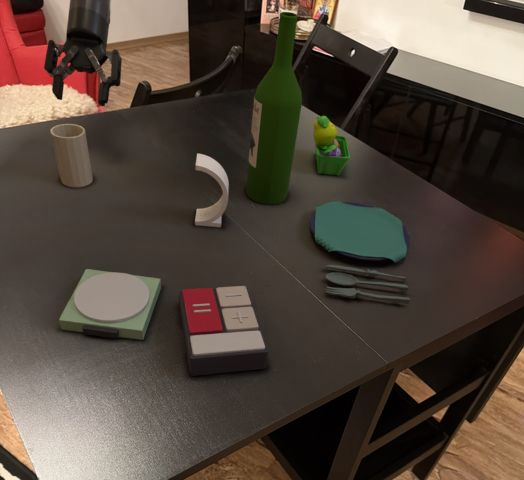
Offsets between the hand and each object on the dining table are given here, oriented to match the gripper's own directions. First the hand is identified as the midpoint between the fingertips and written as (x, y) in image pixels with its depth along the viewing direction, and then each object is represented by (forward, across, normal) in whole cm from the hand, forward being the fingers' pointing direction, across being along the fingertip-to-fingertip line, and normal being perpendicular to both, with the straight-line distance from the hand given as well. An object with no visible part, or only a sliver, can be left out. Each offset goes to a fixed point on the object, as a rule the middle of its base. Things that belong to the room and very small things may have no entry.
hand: (79, 101), depth 95 cm
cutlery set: (+23, +58, -5) cm, 63 cm away
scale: (+40, +18, -22) cm, 49 cm away
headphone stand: (+20, +29, -2) cm, 36 cm away
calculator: (+42, +35, -24) cm, 60 cm away
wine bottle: (+11, +39, +7) cm, 41 cm away
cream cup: (+15, 0, +3) cm, 15 cm away
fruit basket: (-1, +52, +19) cm, 55 cm away
